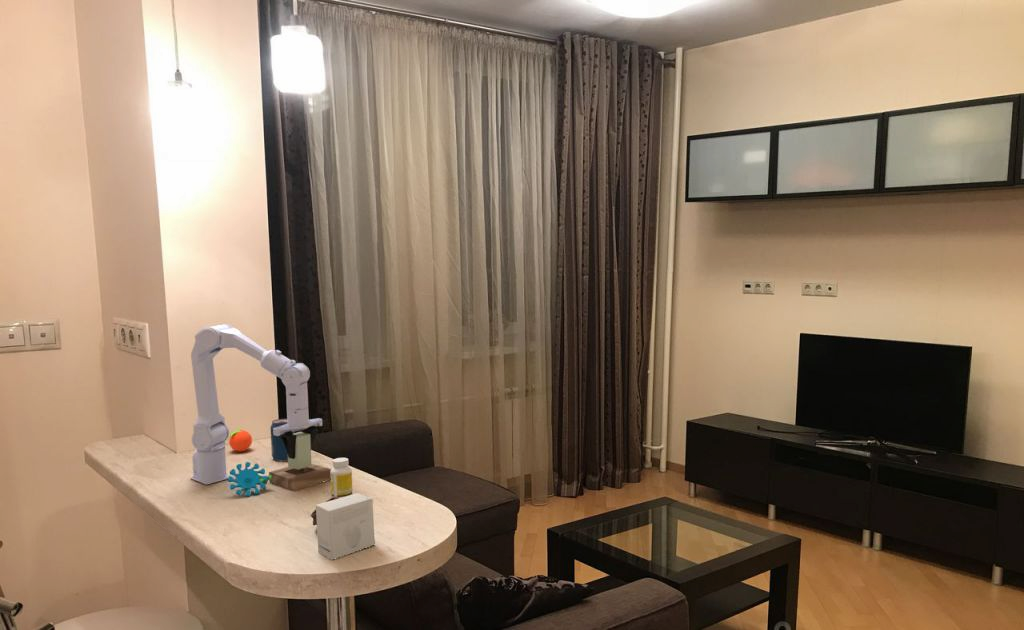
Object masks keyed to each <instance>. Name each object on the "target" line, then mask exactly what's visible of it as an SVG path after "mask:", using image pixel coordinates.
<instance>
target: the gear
mask: <svg viewBox="0 0 1024 630" xmlns="http://www.w3.org/2000/svg"><path fill="white" fill-rule="evenodd" d="M251 464H252V463H251V462H249V461H246V462H245V465H244V466H245V467H244V469H242V463H239V464H236V466H235V467H236V469H237V471H238V473H236V469H235V468H232V469H231V470H230V471H229V475H231V476H233V477H235V478H232V477H231V476H229V478H228V479H227V483H231V484H230V485H229V489H230V490H231V491H234V490H235V489H236V491H235V494H236V495H238V496H241V494H242V493H243V492H244V491H245V493H244V496H245V497H250V496H251V490H253V489H254V491H253V494H254V495H259V494H260V489H261V490H264V489H265V488H266V486H267V485H268V483H269V480H271V477H272V475H269V474H268V475H265V474H266V470H265V468H261V469H259V468H260V464H259V463H254V464H253V466H252V467H251ZM250 467H251V468H250ZM260 474H261V475H260ZM234 483H235V484H234ZM258 486H259V487H260V489H259V488H258ZM237 488H238V489H237ZM246 490H247V491H246Z"/></svg>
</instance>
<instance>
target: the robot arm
mask: <svg viewBox="0 0 1024 630" xmlns="http://www.w3.org/2000/svg"><path fill="white" fill-rule="evenodd" d="M194 340H195V342H194V345H193V347H192V350H191V353H190V357H191V358H190V359H191V367H192V373H193V374H192V375H193V383H194V391H195V399H196V409H197V415H198V416H197V419H196V420H195V422H194V424H193V426H192V427H193V433H192V435H191V443H192V446H193V447H194V448H195V450H194V452H193V454H192V469H193V470H192V471H193V473H192V476H190V480H194V481H196V482H198V483H201V484H204V485H210V484H213V483H219V482H221V481H225V480H228V478H229V476H231V477H232V478H233V477H234V475H231V474H230V473H227V462H226V460H227V458H226V457H227V456H226V441H227V440H228V439H229V437H230V429H229V427H228V426H227V423H226V421H225V417H224V416H223V415H222V414H221V413H220V409H219V399H218V392H217V391H218V390H217V382H216V375H215V374H216V373H215V366H214V365H215V364H214V358H215V357H216V356H217V355H218V354H219V353H220V352H221V350H223V349H232V348H233V349H237V350H238V351H240V352H243V353H244V354H245V355H248V356H250V357H252V358H254V359H256V360H257V361H259V363H260V366H261V369H264V370H266V372H267V371H268V372H269V373H271V374H272V375H274V376H275V377H277V378H279V379H281V382H282V384H283V385H284V386H285V396H286V398H285V399H286V419H287V424H285V425H282V426H279V427H276V428H273V435H275V436H279V437H280V438H281V440H282V441H283V443H284V445H285V448H286V450H287V453H288V457H289V458H291V459H294V458H295V442H296V437H297V436H296V435H293V433H292V432H294V433H295V432H297V431H298V432H299V431H300V432H303V433H307V434H310V442H311V450H312V448H313V444H314V441H315V439H316V437H317V434H318V433H319V429H318V427H322V426H323V419H322V418H320V417H319V418H312V419H310V416H309V393H308V381H309V380H310V377H311V371H310V369H309V367H308V366H307V365H306V364H304V363H302V362H297V363H296V360H294V359H290V358H289V357H287V356H285V355H283V354H282V351H280V350H279V349H276V350H275V349H270V350H268V349H265V348H264V347H262V346H260V345H259V344H258V343H257V342H255V341H254V340H252V339H250V338H249V337H248V336H246V335H244V334H243V333H242V332H241V331H240V330H239V329H238V328H235V327H233V326H232V325H230V324H226V323H222V324H219V325H214V326H206V327H202V329H201V330H199V331H198V332H197V333H196V334H195V335H194ZM233 479H234V478H233Z"/></svg>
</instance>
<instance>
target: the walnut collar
mask: <svg viewBox="0 0 1024 630" xmlns="http://www.w3.org/2000/svg"><path fill="white" fill-rule="evenodd" d="M311 465H312V466H309V467H305V468H302V469H298V470H297V469H294V468H291V467H288V466H286V467H282V468H278V469H274V470H271V471H269V472H268V475H272V477H271V480H268V483H270V484H273V485H276V486H279V487H282V488H284V489H287V490H290V491H293V492H296V491H298V490H302V489H305V487H306V488H308V486H309V487H311V485H312V486H315V485H318V484H317V483H319V484H321V483H320V482H322V483H324V482H323V481H325V482H327V481H326V480H328V481H331V480H330V479H331V476H330V471H331V469H332V468H328V467H325V466H322V465H318V464H316V463H315V464H314V463H312V462H311ZM314 484H315V485H314Z"/></svg>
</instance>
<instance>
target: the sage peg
mask: <svg viewBox="0 0 1024 630" xmlns="http://www.w3.org/2000/svg"><path fill="white" fill-rule="evenodd" d="M293 435H296V436H297V437H296V442H295V458H294V459H291V458H289V457H288V460H287V467H291V468H294V469H297V470H298V469H302V468H305V467H309V466H312V465H311V463H312V449H311V442H310V434H307V433H303V432H301V431H298V432H294V434H293Z"/></svg>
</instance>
